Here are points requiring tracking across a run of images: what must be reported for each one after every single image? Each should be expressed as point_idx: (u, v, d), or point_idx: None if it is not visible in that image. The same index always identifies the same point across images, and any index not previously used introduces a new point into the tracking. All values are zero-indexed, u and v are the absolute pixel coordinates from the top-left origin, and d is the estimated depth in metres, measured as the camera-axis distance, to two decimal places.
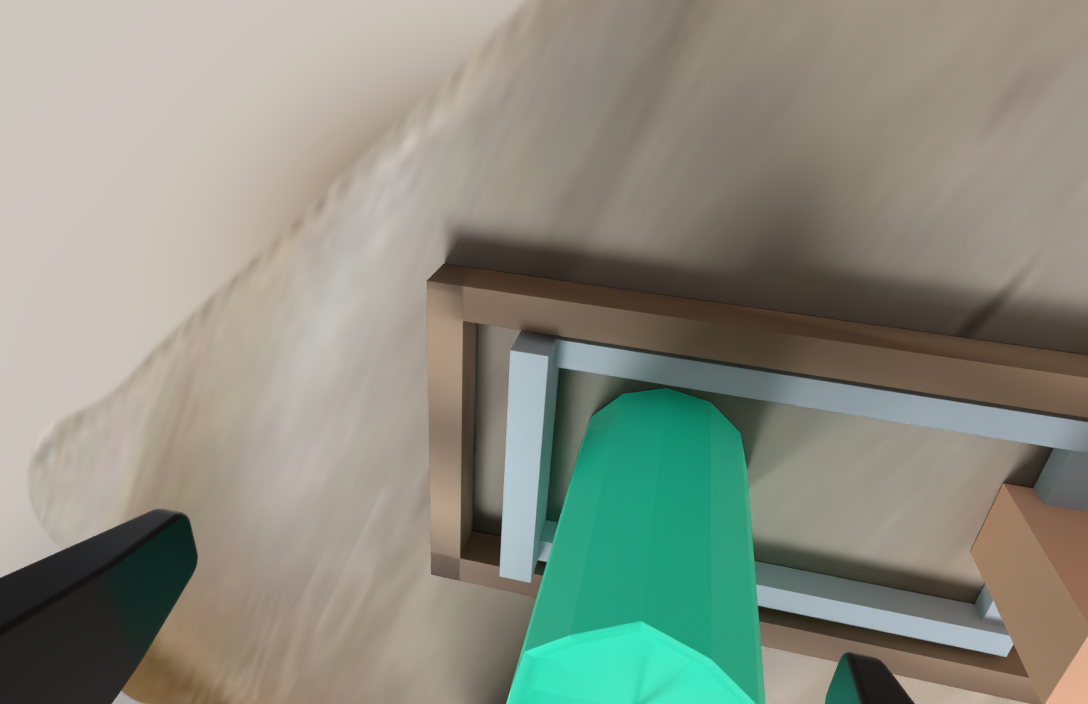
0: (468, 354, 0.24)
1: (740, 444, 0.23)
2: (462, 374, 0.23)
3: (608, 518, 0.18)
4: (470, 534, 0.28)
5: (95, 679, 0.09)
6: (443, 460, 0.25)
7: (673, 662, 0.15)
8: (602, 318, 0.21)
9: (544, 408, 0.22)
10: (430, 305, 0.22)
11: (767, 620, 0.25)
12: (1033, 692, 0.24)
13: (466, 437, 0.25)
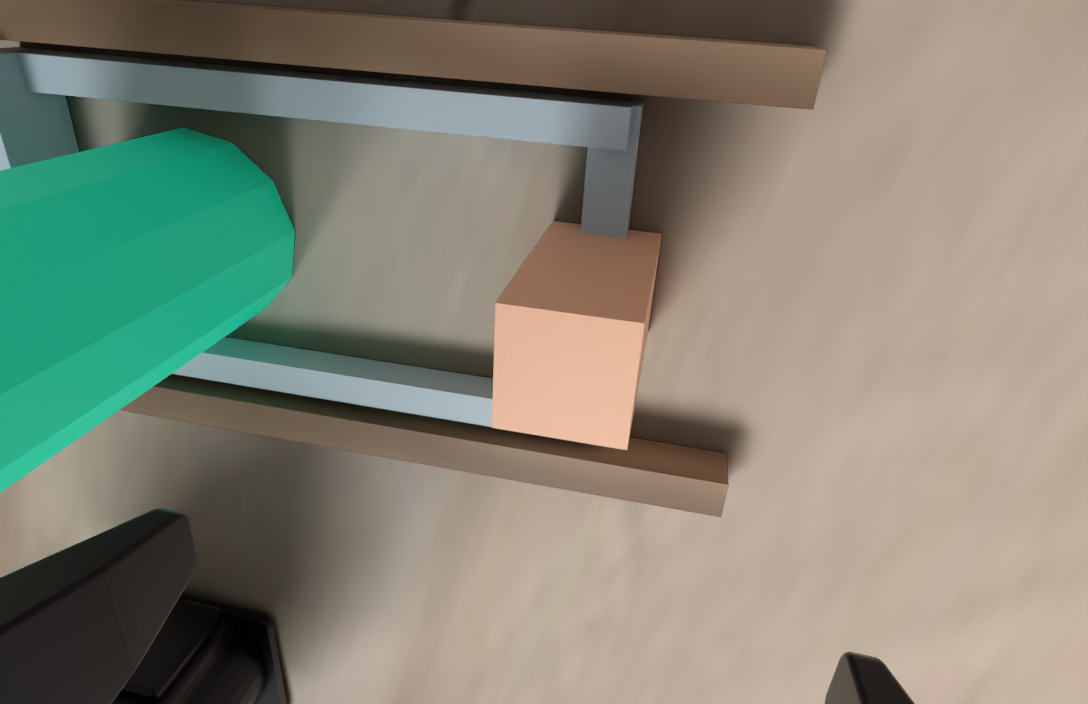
0: None
1: (258, 186, 0.20)
2: None
3: None
4: None
5: (95, 679, 0.09)
6: None
7: None
8: (39, 9, 0.18)
9: (3, 133, 0.19)
10: None
11: (339, 416, 0.22)
12: (625, 484, 0.21)
13: None
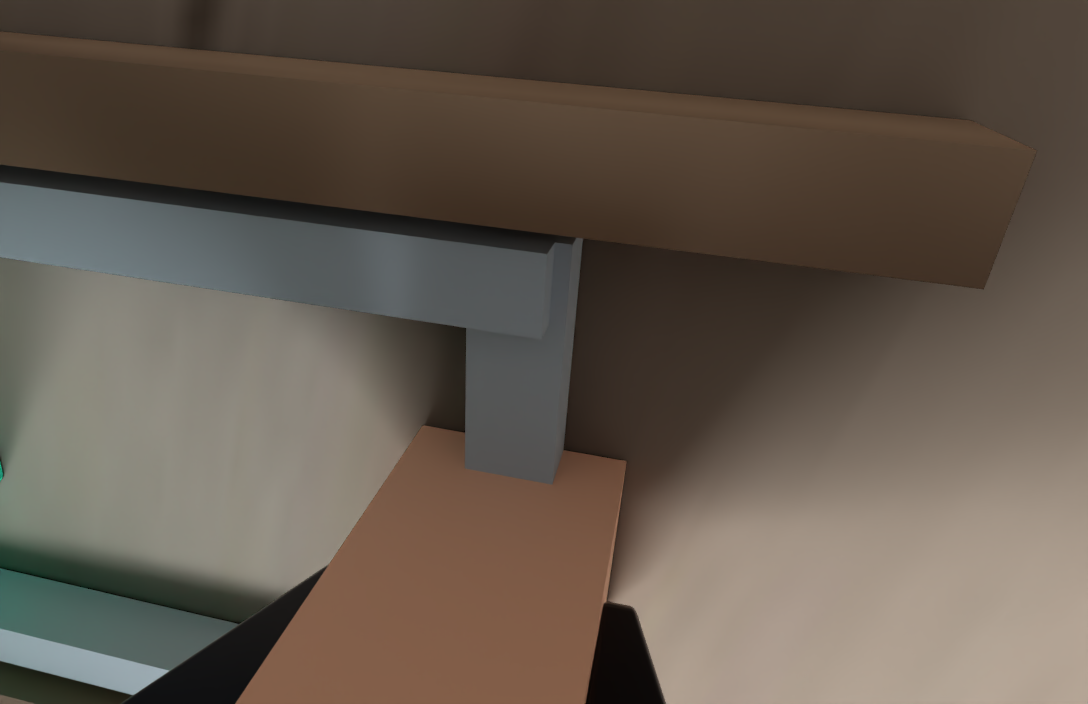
0: None
1: None
2: None
3: None
4: None
5: None
6: None
7: None
8: None
9: None
10: None
11: None
12: None
13: None
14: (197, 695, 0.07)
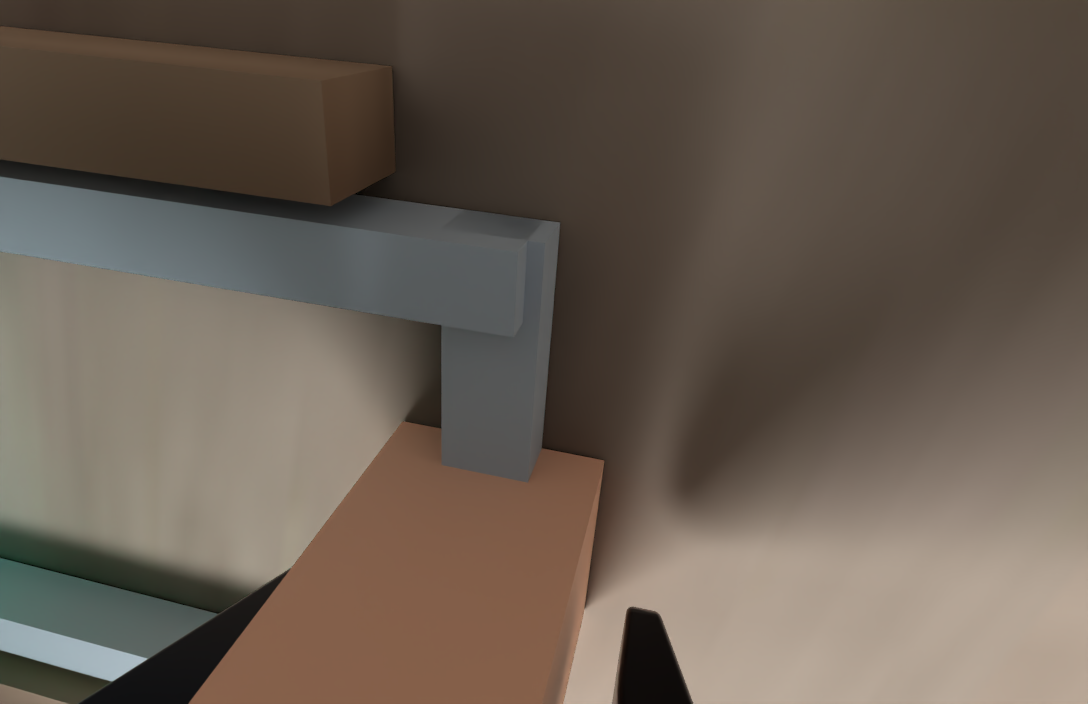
0: None
1: None
2: None
3: None
4: None
5: None
6: None
7: None
8: None
9: None
10: None
11: None
12: None
13: None
14: (168, 688, 0.07)
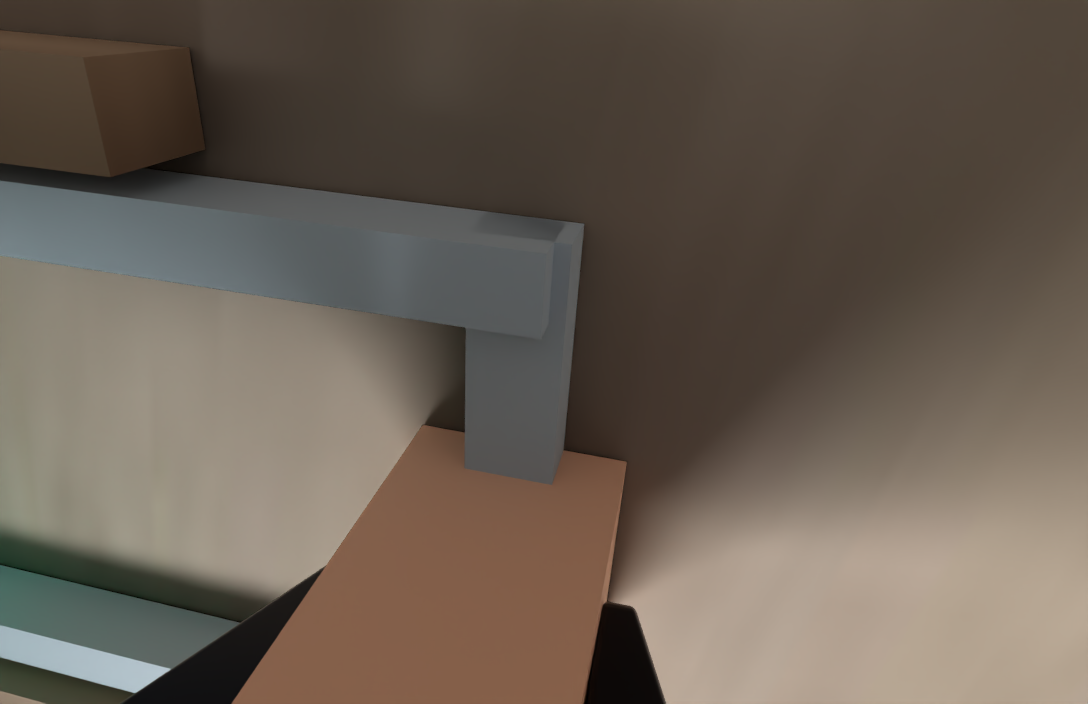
0: None
1: None
2: None
3: None
4: None
5: None
6: None
7: None
8: None
9: None
10: None
11: None
12: None
13: None
14: (198, 695, 0.07)
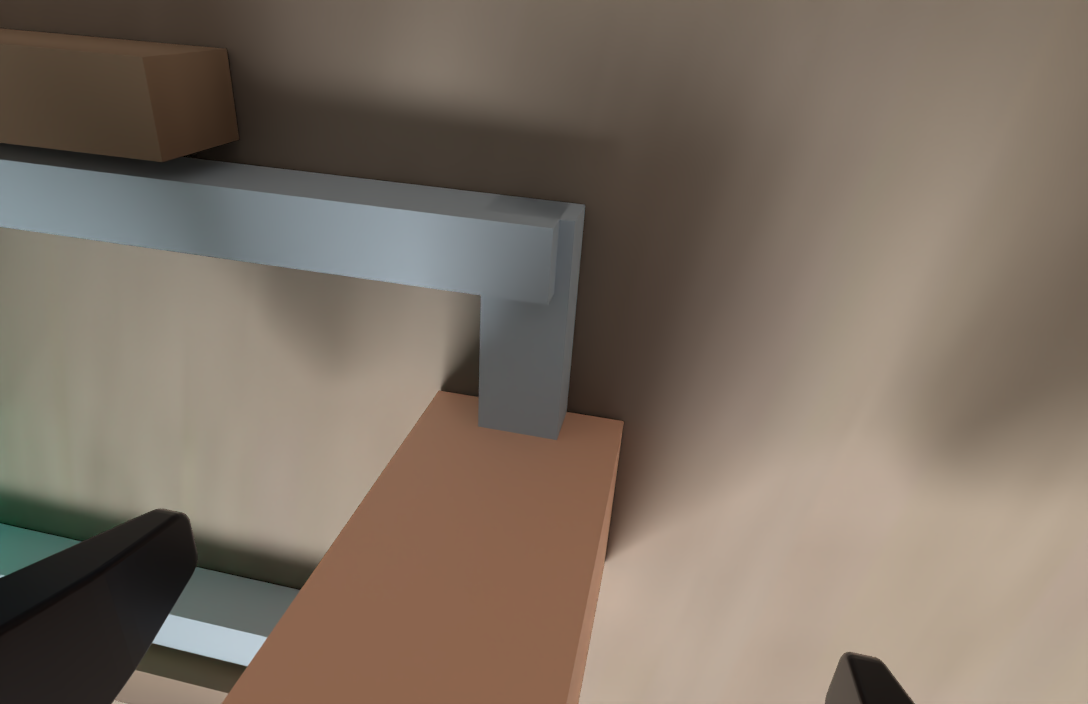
0: None
1: None
2: None
3: None
4: None
5: (95, 679, 0.09)
6: None
7: None
8: None
9: None
10: None
11: None
12: (140, 690, 0.14)
13: None
14: None
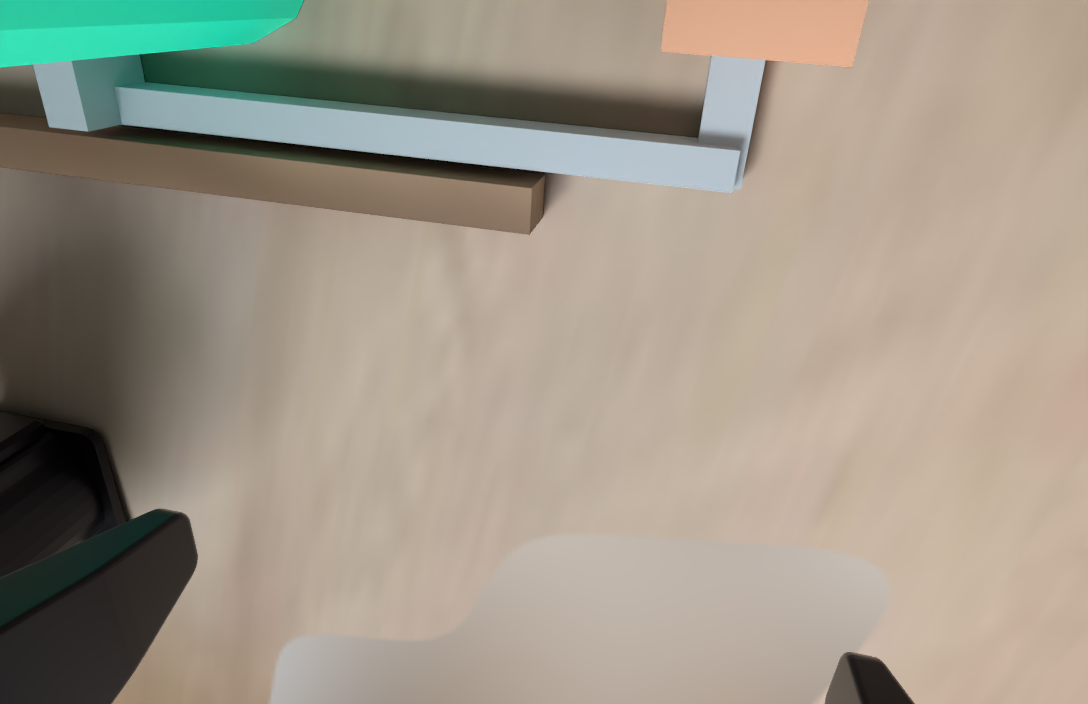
0: None
1: None
2: None
3: None
4: None
5: (95, 679, 0.09)
6: None
7: None
8: None
9: None
10: None
11: (112, 138, 0.19)
12: (422, 199, 0.18)
13: None
14: None
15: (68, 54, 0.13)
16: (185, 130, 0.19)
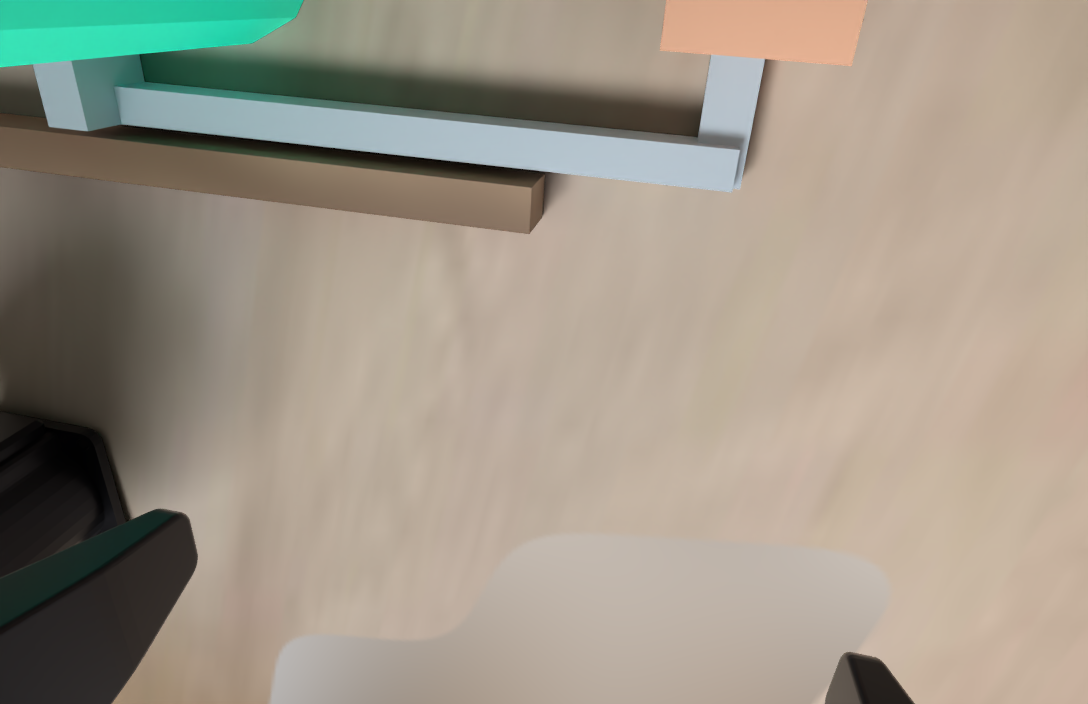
0: None
1: None
2: None
3: None
4: None
5: (95, 679, 0.09)
6: None
7: None
8: None
9: None
10: None
11: (111, 138, 0.19)
12: (421, 199, 0.18)
13: None
14: None
15: (68, 54, 0.13)
16: (185, 130, 0.19)
